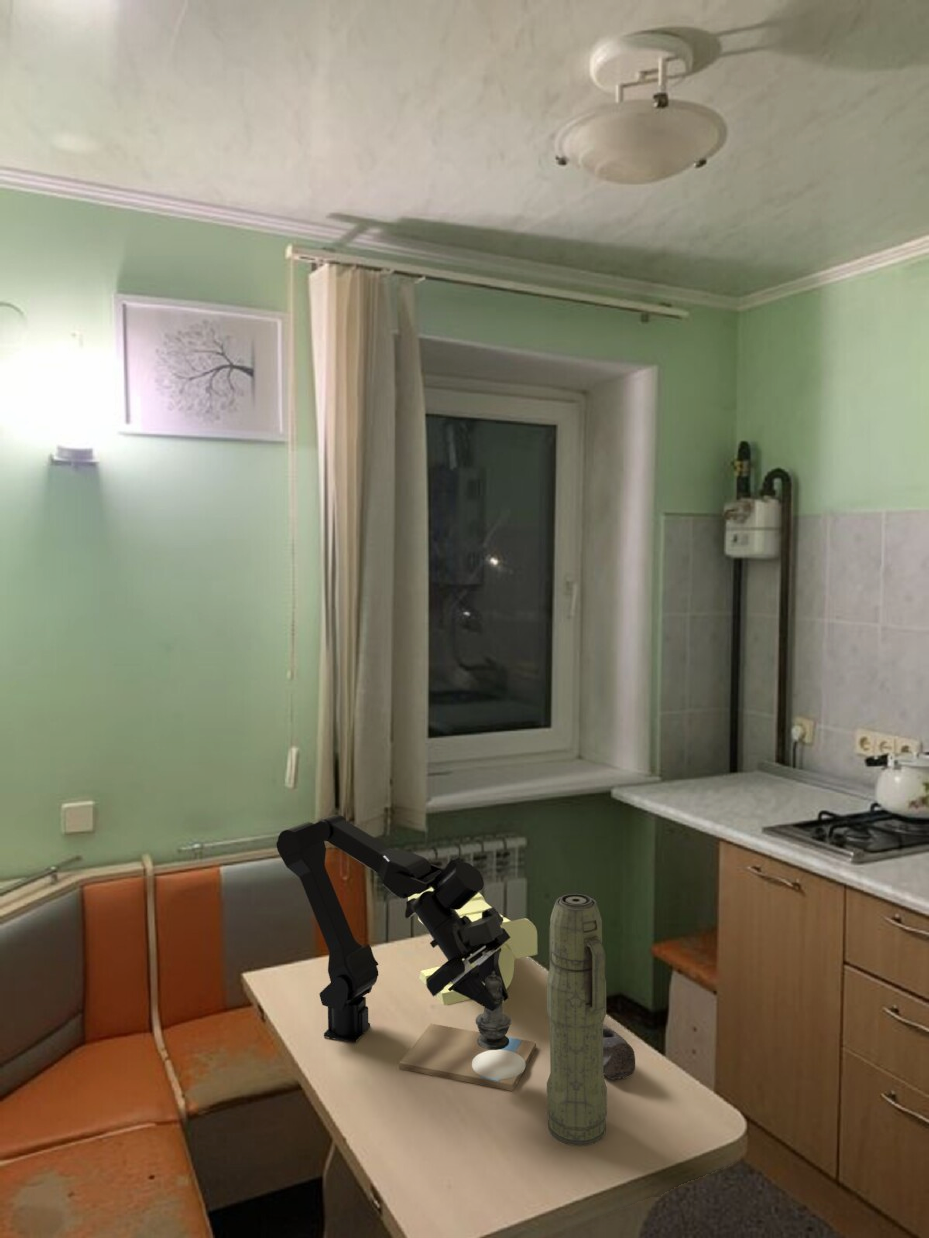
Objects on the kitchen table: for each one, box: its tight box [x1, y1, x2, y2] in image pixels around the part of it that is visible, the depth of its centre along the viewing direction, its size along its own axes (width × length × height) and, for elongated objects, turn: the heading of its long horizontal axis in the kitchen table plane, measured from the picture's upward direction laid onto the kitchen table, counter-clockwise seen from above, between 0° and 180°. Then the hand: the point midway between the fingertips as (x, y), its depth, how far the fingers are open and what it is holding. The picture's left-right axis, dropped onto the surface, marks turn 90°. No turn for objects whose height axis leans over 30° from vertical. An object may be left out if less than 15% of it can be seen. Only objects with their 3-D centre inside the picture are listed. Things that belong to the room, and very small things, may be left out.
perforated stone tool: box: [603, 1024, 636, 1080], centre depth 154 cm, size 15×5×7 cm, turn 24°
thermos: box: [546, 893, 608, 1146], centre depth 136 cm, size 9×12×35 cm
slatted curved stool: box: [407, 887, 538, 1006], centre depth 184 cm, size 30×16×18 cm, turn 25°
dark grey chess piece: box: [475, 970, 512, 1050], centre depth 149 cm, size 6×6×12 cm
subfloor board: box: [398, 1023, 537, 1091], centre depth 156 cm, size 20×14×1 cm
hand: (500, 1004), depth 148 cm, fingers closed on dark grey chess piece, 4 cm apart
